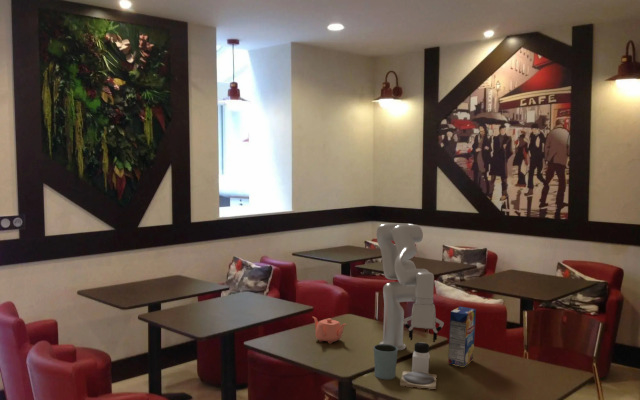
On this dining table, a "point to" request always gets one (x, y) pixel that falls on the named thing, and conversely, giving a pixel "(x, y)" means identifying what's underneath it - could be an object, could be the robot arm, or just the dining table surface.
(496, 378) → the dining table surface
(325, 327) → the teapot
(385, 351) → the blue-grey cup
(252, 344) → the dining table surface
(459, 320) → the juice carton
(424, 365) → the medicine bottle
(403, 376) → the board
